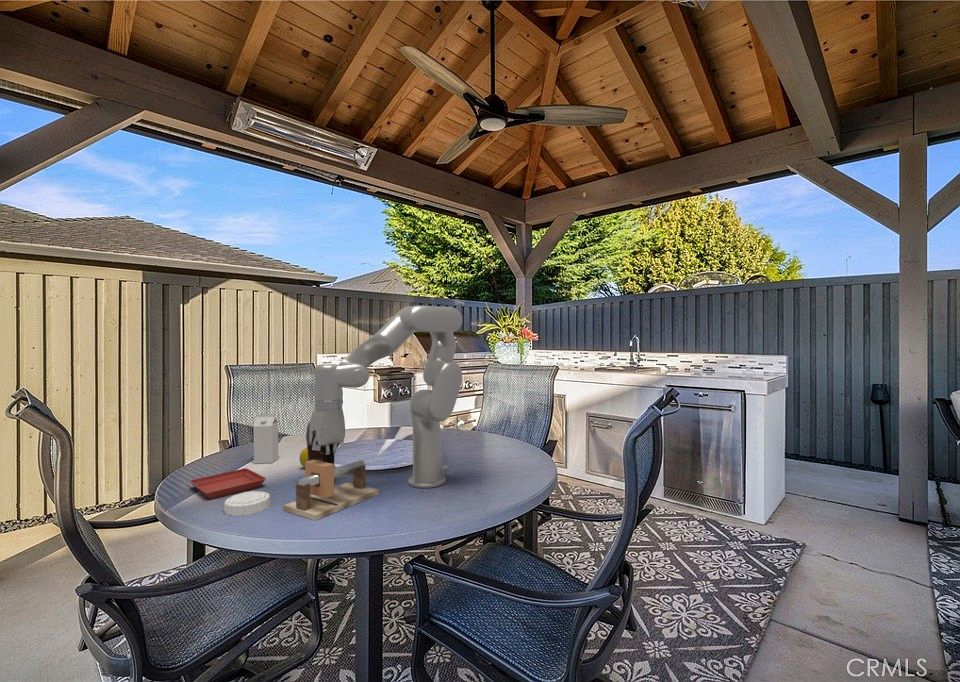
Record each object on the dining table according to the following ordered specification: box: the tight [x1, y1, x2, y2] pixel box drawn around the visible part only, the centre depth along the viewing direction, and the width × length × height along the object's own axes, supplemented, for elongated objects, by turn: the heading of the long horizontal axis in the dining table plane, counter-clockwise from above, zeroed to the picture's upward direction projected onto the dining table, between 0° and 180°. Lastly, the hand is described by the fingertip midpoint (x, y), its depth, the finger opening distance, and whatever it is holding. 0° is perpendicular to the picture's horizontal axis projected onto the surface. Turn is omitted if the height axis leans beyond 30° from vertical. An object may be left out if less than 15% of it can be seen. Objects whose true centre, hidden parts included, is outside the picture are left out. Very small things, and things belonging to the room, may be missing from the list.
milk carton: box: [253, 413, 279, 465], centre depth 182 cm, size 7×7×19 cm
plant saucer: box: [189, 467, 267, 500], centre depth 150 cm, size 18×18×3 cm
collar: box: [304, 460, 335, 498], centre depth 132 cm, size 3×9×9 cm, turn 58°
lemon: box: [299, 447, 308, 468], centre depth 172 cm, size 6×6×8 cm
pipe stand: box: [282, 465, 380, 522], centre depth 136 cm, size 24×14×8 cm, turn 148°
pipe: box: [296, 459, 366, 490], centre depth 136 cm, size 23×3×3 cm, turn 148°
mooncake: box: [223, 490, 271, 517], centre depth 132 cm, size 12×12×4 cm
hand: (328, 466), depth 135 cm, fingers closed
